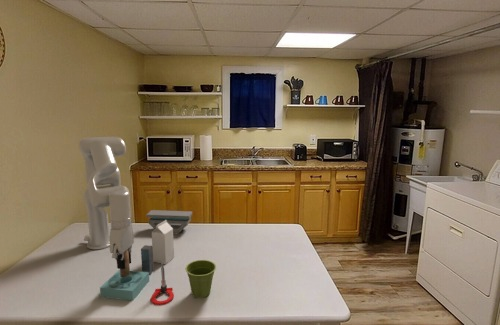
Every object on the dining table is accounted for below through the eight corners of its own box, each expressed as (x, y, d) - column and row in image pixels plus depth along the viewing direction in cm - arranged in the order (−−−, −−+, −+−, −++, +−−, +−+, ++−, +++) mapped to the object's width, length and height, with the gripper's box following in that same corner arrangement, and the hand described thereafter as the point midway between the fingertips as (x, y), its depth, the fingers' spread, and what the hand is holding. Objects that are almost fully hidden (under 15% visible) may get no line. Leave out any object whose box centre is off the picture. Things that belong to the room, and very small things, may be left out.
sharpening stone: (147, 232, 181) (146, 214, 179) (152, 227, 189) (151, 210, 187) (189, 234, 179) (188, 216, 177) (192, 228, 187) (192, 211, 185)
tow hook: (172, 305, 117) (175, 289, 126) (170, 274, 114) (173, 261, 123) (149, 307, 116) (153, 291, 125) (147, 276, 113) (151, 262, 122)
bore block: (100, 296, 121) (99, 287, 120) (120, 278, 134) (119, 269, 133) (133, 300, 119) (132, 290, 118) (149, 281, 132) (148, 272, 131)
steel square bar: (142, 274, 137) (140, 248, 135) (146, 270, 140) (144, 245, 138) (150, 275, 136) (148, 249, 134) (153, 270, 140) (152, 245, 138)
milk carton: (174, 257, 152) (172, 220, 148) (165, 264, 145) (164, 226, 142) (161, 255, 154) (160, 218, 151) (152, 262, 147) (150, 224, 144)
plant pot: (190, 305, 116) (189, 278, 114) (183, 288, 126) (182, 263, 124) (220, 298, 120) (220, 271, 118) (211, 282, 131) (211, 257, 129)
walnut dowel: (118, 277, 123) (116, 248, 121) (123, 272, 127) (121, 244, 125) (127, 277, 123) (124, 249, 121) (131, 273, 126) (129, 245, 124)
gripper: (123, 214, 129) (126, 255, 133) (99, 230, 113) (103, 276, 117) (140, 215, 128) (143, 256, 132) (118, 231, 112) (121, 277, 116)
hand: (124, 265), depth 124 cm, fingers closed on walnut dowel, 3 cm apart
